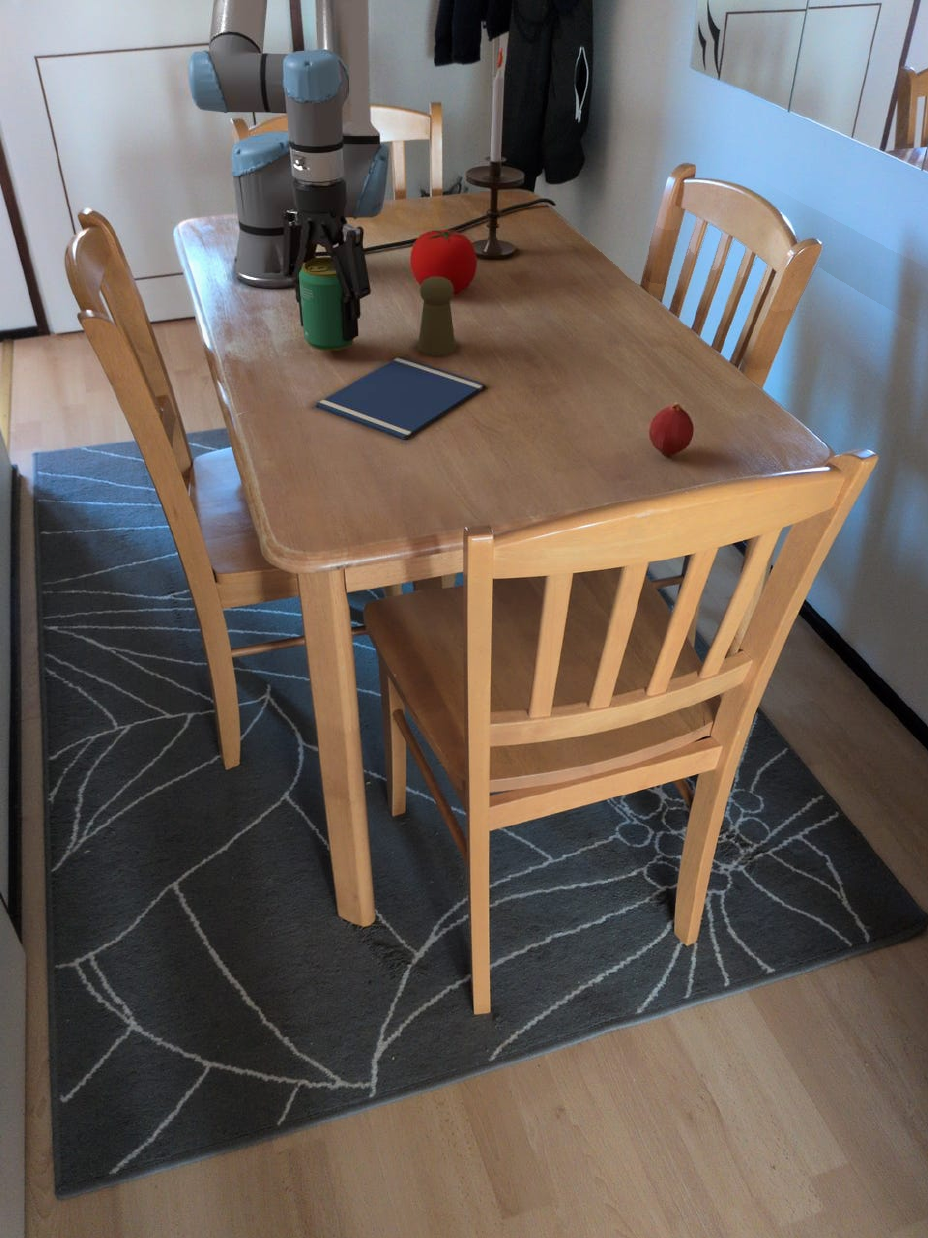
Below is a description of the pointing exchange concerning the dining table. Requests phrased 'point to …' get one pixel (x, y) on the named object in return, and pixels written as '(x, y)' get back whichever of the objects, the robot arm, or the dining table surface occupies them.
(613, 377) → the dining table surface
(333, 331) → the beverage can
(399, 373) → the towel
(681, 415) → the onion
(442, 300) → the olive game pawn
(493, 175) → the candlestick
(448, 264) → the tomato
